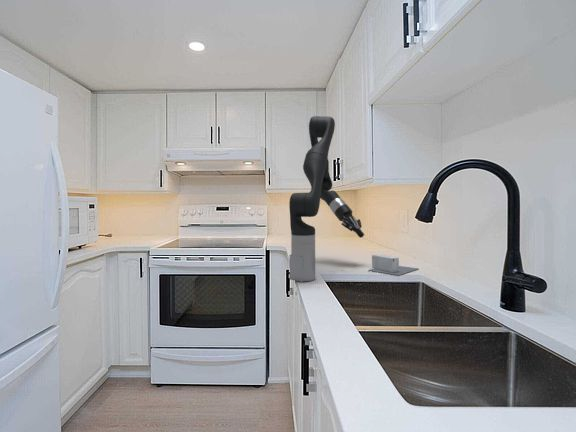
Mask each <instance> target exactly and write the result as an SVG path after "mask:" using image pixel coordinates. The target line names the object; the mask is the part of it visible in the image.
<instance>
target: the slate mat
mask: <svg viewBox="0 0 576 432" xmlns="http://www.w3.org/2000/svg"><path fill="white" fill-rule="evenodd" d="M418 270H419V267H410V266H403V265H399V271H397V272H388V271H383V270H379V269H375V268H372V269H368V270H367V271H368V272H370V271H372V273H377V272H378V273H379V274H383V275H384V274H385V275H390V276H397V277H400V276H404V275H406V274H408V273H412V272H415V271H418Z"/></svg>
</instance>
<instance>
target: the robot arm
mask: <svg viewBox="0 0 576 432" xmlns="http://www.w3.org/2000/svg"><path fill="white" fill-rule="evenodd" d="M335 127H336V123H335V118H333V117H332V116H325V115H324V116H323V115H322V116H320V115H319V116H317V115H314V116H311V117H310V119H309V123H308V134H309V139H310V146H311V148H309V150H308V151H307V152H306V154H305V157H304V161H303V165H302V168H303V173H304V175H305V177H306V179H307V180H308V182H309V185H310V187H311V188H310V191H309V192H294V193H292V194H291V195H290V198H289V203H288V204H289V207H288V208H289V221H290V222H289V224H290V233H291V234H290V235H291V236H290V237H291V238H290V239H291V241H290V246H291V247H290V248H291V249H290V250H291V253H290V255H289V280H290V281H295V282H300V283H303V282H311V281H315V280H316V229H315V226H312V225H310V224H309V223H308V224H307V222H305V221H304V220H303V219H302V217H303V218H312V217H316V216H317V215H318V213H319V210H320V204H321V200H322V201H323V202H325V203H326V205H327V206H328V207H329V208H330V210H331V212H332V213H333V214H334V216H335V217H336V218H337V219H338V220H339V221H340V222H341V226H343V227H344V228H346V229H347V230H349V231H350V232H354V233H355V234H356V235H357V236H358V237H359V239H361V238H363V237H364V236H365V233H364V232H363V231H362V230H361V228H362V222H361V219H359V218H358V219H356V217H355V216H354V215H353V210H352V208H350V206H349V205H348V204H347V202H346V201H345V200H343V199H342V198H341V196H339V194H338V193H337V192H336V191H335V190H331V189H333V181H332V179H331V175H330V169H329V168H330V167H329V166H330V165H329V164H330V162H329V158H328V157H329V152H330V146H331V142H332V139H333V136H334V132H335ZM319 139H320V140H319Z"/></svg>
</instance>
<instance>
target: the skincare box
mask: <svg viewBox="0 0 576 432" xmlns="http://www.w3.org/2000/svg"><path fill="white" fill-rule="evenodd" d="M399 263H400V257H398V256H391V255H387V254H380V253H378V254H371V268H372V269H379V270H383V271H388V272H397V271H399V266H400V264H399Z"/></svg>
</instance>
